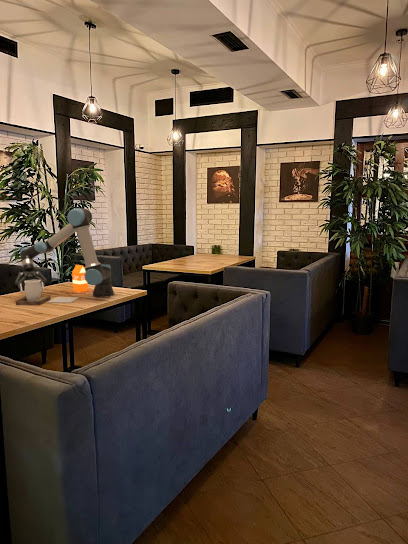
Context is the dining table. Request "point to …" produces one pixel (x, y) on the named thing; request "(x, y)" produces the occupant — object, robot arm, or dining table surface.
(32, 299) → the jar
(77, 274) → the orange juice
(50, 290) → the dining table surface
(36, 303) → the dark brown wooden board
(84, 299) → the dining table surface
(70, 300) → the grey mat
